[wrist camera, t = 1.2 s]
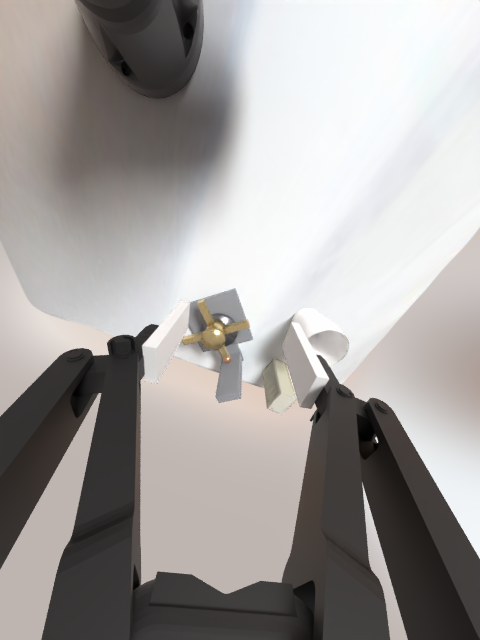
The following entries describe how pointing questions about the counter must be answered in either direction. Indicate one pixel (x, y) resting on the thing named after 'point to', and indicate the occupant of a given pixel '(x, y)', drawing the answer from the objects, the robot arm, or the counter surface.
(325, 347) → the cup
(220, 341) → the capstan
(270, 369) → the skincare box
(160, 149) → the counter surface
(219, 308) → the stand
